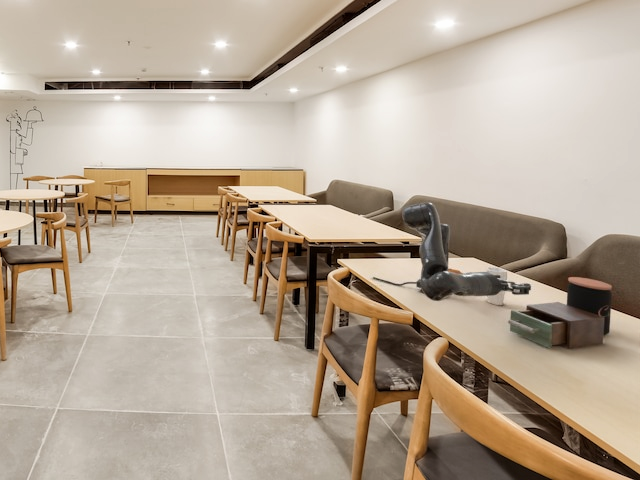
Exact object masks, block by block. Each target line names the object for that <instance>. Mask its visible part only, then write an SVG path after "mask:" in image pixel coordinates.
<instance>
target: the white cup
mask: <svg viewBox="0 0 640 480" xmlns="http://www.w3.org/2000/svg"><path fill="white" fill-rule="evenodd" d="M485 272H488V273H491V274H493V275H500V279H503V280H508V271H507V270H506V269H503V268H499V267H493V266H487V267H486V268H485ZM505 293H506V291H500V292H499V293H498V294H496V295H493V296H486V301H487V303H489V304H491V305H495V306H503V305H504V302H505V301H504V300H505Z"/></svg>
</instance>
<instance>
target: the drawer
mask: <svg viewBox="0 0 640 480" xmlns="http://www.w3.org/2000/svg"><path fill="white" fill-rule="evenodd" d="M507 323H508V325H509V331H510V332H512V333H514V334H515V335H519V336H521V337H522V338H523V337H524V338H526V339H527V340H530V341H532V342H534V343H536V344H539V345H541V346H543V347H546V348H552V346H555V345H559V344H563V343H567V327H568V322H565V321H563V320H560V319H557V318H554V317H552V316H549V315H546V314H544V313H541V312H538V311H535V310H533V309H532V310H526V309H524V310H523V309H522V310H515V309H511V310H510V318H509V320H508V321H507Z"/></svg>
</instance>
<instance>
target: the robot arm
mask: <svg viewBox="0 0 640 480" xmlns="http://www.w3.org/2000/svg"><path fill="white" fill-rule="evenodd" d="M401 215H402V219H403V222H404V224H405V225H406V226H407V227H408V228H409V229H410V230H413V231H416V233H418V234H419V235H420V238H421V239H422V241H421V243H420V245H419V249H418V251H419V258H420V263H421V273H420V278H419V279H417V280H416V281H406V282H405V281H404V282H402V283H395V282H392V281H388V280H385V279H381V278H378V277H375V276H373V277H372V279H374V280H378V281H381V282H384V283H387V284H390V285H393V286H399V287H400V286H401V287H402V286H404V285H410V284H411V285H413V284H414V285H416V288H419V289H420V293H423V294H424V295H425V296H426V297H427V298H428V299H430V300H431V301H434V302H440V301H444V300H445V299H447V298H448V297H451V296H453V295H454V296H457V297H487V296H493V295H496V294H498V293H499V292H500V291H505V292H506V293H507V292H508V293H511V294H512V295H513V296H514V295H515V296H520V295H524V296H525V295H526V296H527V295H530V291H531V290H532V285H531V284H530V283H527V282H526V283H525V282H524V283H518V282H514V281H513V280H508V279H507V280H503V279H500V275H493V274H491V273H488V272H486V271H474V272H473V271H472V272H471V271H470V272H466V273H464V272H463V274H457V273H453V272H450V271H448V268H449V257H450V256H449V255H450V254H449V252H450V240H451V227H450V225H449V224H447V223H441V220H440V216H439V212H438V211H437V208H436V206H435V204H434V203H432V202H429V201H426V202H421V203H415V204H410V205H407V206H404V207H403V208H402V211H401Z"/></svg>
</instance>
